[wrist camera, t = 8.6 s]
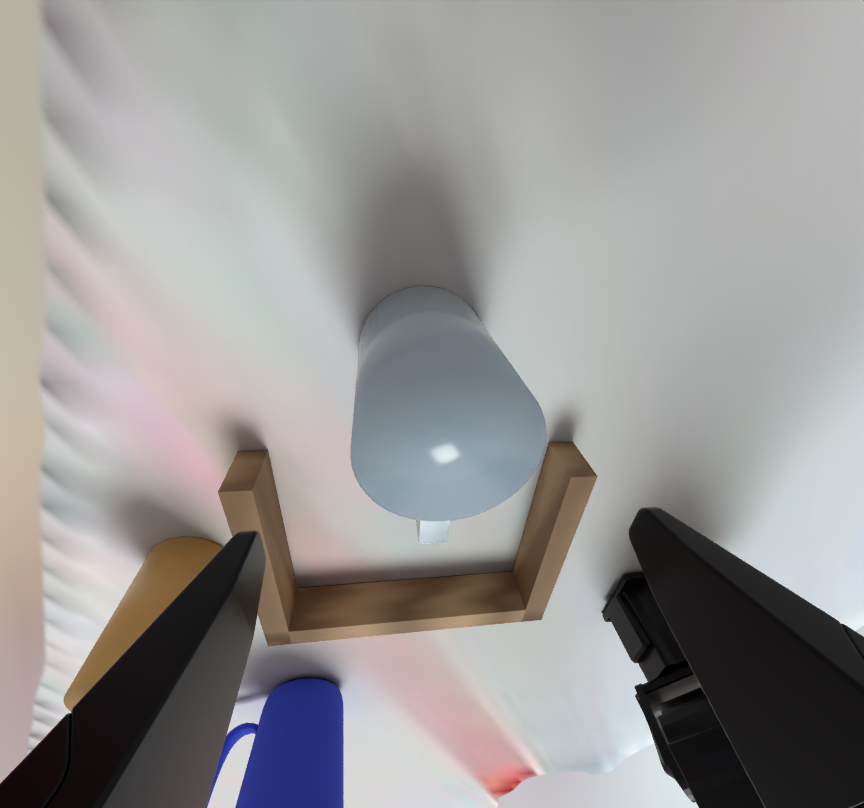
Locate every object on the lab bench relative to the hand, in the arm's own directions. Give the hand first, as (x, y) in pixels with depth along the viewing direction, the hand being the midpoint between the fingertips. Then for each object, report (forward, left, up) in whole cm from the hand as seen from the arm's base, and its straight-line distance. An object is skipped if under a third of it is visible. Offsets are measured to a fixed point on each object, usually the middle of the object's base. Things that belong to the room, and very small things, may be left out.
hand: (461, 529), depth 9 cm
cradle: (0, +12, -11) cm, 16 cm away
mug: (+11, +35, -11) cm, 38 cm away
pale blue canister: (0, +2, -11) cm, 11 cm away
